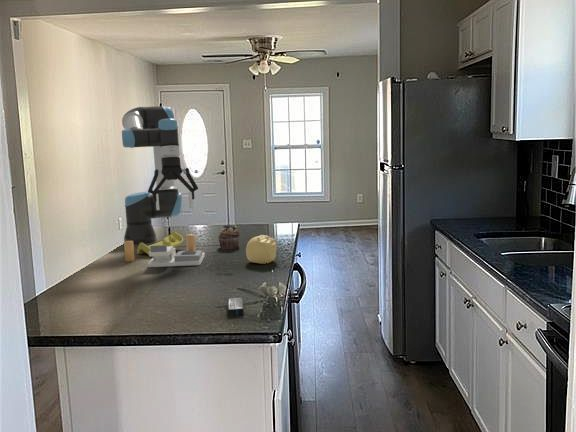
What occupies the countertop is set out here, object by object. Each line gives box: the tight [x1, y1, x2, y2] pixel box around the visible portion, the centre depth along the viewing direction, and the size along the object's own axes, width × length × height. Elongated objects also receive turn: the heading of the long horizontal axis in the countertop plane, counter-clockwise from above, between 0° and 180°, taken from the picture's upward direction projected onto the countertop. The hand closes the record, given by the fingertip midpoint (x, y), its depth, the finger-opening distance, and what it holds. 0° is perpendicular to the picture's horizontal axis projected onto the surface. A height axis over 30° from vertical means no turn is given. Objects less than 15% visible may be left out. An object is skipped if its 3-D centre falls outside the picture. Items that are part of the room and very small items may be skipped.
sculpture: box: [245, 234, 278, 265], centre depth 215 cm, size 12×12×11 cm
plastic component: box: [136, 231, 184, 258], centre depth 243 cm, size 20×7×10 cm
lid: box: [148, 244, 173, 257], centre depth 217 cm, size 10×7×4 cm
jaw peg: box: [123, 241, 136, 263], centre depth 227 cm, size 4×4×8 cm
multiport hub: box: [226, 297, 245, 317], centre depth 158 cm, size 4×11×2 cm, turn 7°
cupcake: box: [217, 224, 241, 250], centre depth 246 cm, size 10×10×10 cm
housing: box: [147, 233, 206, 268], centre depth 222 cm, size 16×20×10 cm
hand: (174, 209), depth 228 cm, fingers open, 13 cm apart
